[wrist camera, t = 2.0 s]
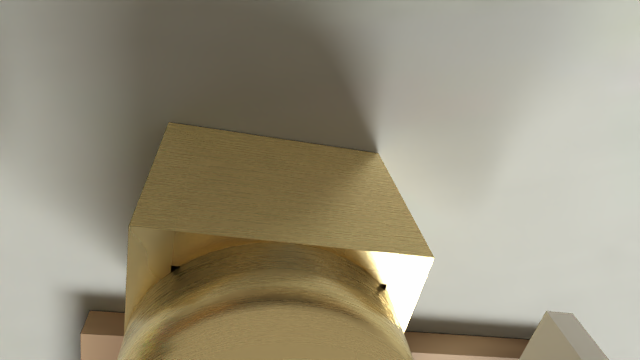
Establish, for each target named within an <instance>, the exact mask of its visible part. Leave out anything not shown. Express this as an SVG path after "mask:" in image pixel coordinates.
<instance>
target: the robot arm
mask: <svg viewBox="0 0 640 360" xmlns="http://www.w3.org/2000/svg"><path fill="white" fill-rule="evenodd" d="M519 360H609V359H608V358H607V356H606V355H605V354H604V353H603V351H602V350H601V349H600V348H599V346H598V345H597V344H596V343H595V341H594V340H593V339H592V337H591V336H590V335H589V334H588V332H587V331H586V330H585V329H584V327H583V326H582V325H581V324H580V322H579V321H578V320H577V318H576V317H575V316H574V315H573V313H562V312H552V311H546V313H545V314H544V316H543V318H542V320H541V321H540V323H539V325H538V327H537V329H536V330H535V332H534V334H533V336H532V337H531V339H530V341H529V343H528V344H527V346H526V348H525V350H524V351H523V353H522V355H521V357H520V358H519Z"/></svg>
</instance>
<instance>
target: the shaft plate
mask: <svg viewBox="0 0 640 360" xmlns="http://www.w3.org/2000/svg"><path fill="white" fill-rule="evenodd" d="M124 324H125V313H118V312H103V311H89V314H88V316H87V319H86V321H85V324H84V326H83V329H82V331H81V360H117V359H118V355H119V352H120V348H121V345H122V342H123V338H124ZM404 335H405V338H406V340H407V343H408V346H409V348H410V351H411V354H412V357H413V359H414V360H519V358H520V357H521V355H522V353H523V351H524V350H525V348H526V346H527V344H528V343H529V341H530V340H526V339H511V338H496V337H481V336H466V335H450V334H435V333H420V332H404Z"/></svg>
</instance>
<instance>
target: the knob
mask: <svg viewBox="0 0 640 360" xmlns="http://www.w3.org/2000/svg"><path fill="white" fill-rule="evenodd" d="M433 260H434V256H433V254H432V252H431V251H430V249H429V247H428V245H427V243H426V241H425V239H424V238H423V236H422V234H421V232H420V230H419V228H418V226H417V224H416V223H415V221H414V219H413V217H412V215H411V213H410V211H409V210H408V208H407V206H406V204H405V202H404V200H403V198H402V197H401V195H400V193H399V191H398V189H397V187H396V185H395V183H394V182H393V180H392V178H391V176H390V174H389V172H388V170H387V169H386V167H385V165H384V163H383V161H382V159H381V157H380V156H379V154H378V153H373V152H366V151H359V150H353V149H346V148H339V147H332V146H326V145H319V144H312V143H305V142H299V141H292V140H285V139H278V138H272V137H265V136H258V135H251V134H245V133H238V132H231V131H224V130H218V129H211V128H204V127H198V126H191V125H184V124H177V123H171V122H169V123H168V126H167V128H166V131H165V134H164V136H163V139H162V141H161V144H160V147H159V149H158V152H157V154H156V157H155V160H154V162H153V165H152V167H151V170H150V172H149V175H148V178H147V180H146V183H145V185H144V188H143V191H142V193H141V196H140V198H139V201H138V204H137V206H136V209H135V211H134V214H133V216H132V219H131V222H130V224H129V230H128V254H127V277H126V300H125V324H124V338H123V342H122V345H121V348H120V352H119V355H118V359H117V360H414V359H413V357H412V354H411V351H410V348H409V346H408V343H407V340H406V338H405V335H404V332H405V330H406V327H407V325H408V322H409V320H410V317H411V315H412V312H413V310H414V307H415V305H416V302H417V300H418V297H419V295H420V292H421V290H422V287H423V285H424V282H425V280H426V277H427V275H428V272H429V270H430V267H431V265H432V262H433Z"/></svg>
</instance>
